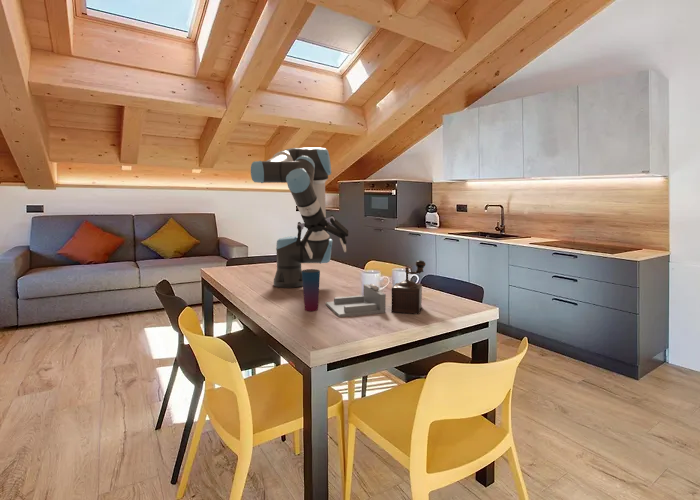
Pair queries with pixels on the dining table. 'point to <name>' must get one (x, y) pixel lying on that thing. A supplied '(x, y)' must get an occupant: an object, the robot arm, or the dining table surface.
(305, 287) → the cup
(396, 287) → the manual coffee grinder
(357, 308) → the dock
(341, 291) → the dining table surface
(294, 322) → the dining table surface
